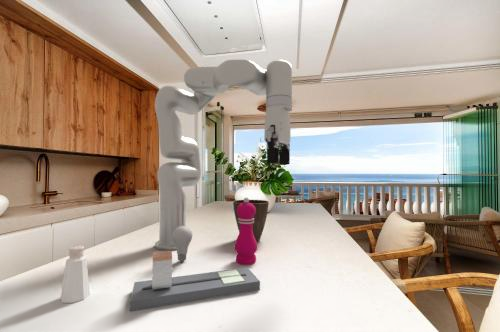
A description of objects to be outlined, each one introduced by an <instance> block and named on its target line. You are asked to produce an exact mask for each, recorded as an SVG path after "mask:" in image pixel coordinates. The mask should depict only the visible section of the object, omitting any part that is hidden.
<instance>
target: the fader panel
mask: <svg viewBox="0 0 500 332" xmlns="http://www.w3.org/2000/svg"><path fill="white" fill-rule="evenodd" d="M260 286H261V281H260V280H259V278H257V276H256V275H255V274H254V273H253V272H252V271H251V269H250V268H248V267H241V268H240V267H239V268H232V269H227V270H226V269H225V270H218V271H211V272H203V273H196V274H187V275H179V276H172V287H168V288H161V289H154V290H152V279H150V280H140V281H134V283H133V288H132V291H131V296H130V301H129V312H131V311H133V312H134V311H139V310H140V311H141V310H144V309H150V308H157V307H163V306H169V305H175V304H181V303H187V302H192V301H198V300H205V299H211V298H216V297H223V296H229V295H235V294H242V293H247V292H253V291H254V292H255V291H259V290H261V289H260V288H261V287H260Z"/></svg>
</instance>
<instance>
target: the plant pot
mask: <svg viewBox="0 0 500 332" xmlns="http://www.w3.org/2000/svg"><path fill="white" fill-rule="evenodd" d="M269 202H270V201H269V200H262V199H249V202H248V203H251V204H253V205H254V206H255V209H256V213H255V215H254V216H253V218H254V223H253V226H252V230H253V234H254V237H255V239H256V242H257V243H258V242H260V240H261V237H262V236H263V232H264V228H265V225H266V220H267V216H268V210H269V205H270V203H269ZM232 203H233V212H234V216H235V221H236V226H237V230H238V233H239V232H240V223H239V222H238V221H239V220H238V218H240V217H239V216H238V214H237V207H238V206H239V205H240V204H241V203H244V199H237V200H233V201H232Z"/></svg>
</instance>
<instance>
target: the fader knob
mask: <svg viewBox="0 0 500 332" xmlns="http://www.w3.org/2000/svg"><path fill="white" fill-rule="evenodd" d="M172 251H173V250H163V251H153V252H152V270H151V271H152V279H151V280H152V290H154V289H161V288H168V287H172V277H173V276H172V275H173V253H172Z"/></svg>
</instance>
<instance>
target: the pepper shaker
mask: <svg viewBox="0 0 500 332" xmlns="http://www.w3.org/2000/svg"><path fill="white" fill-rule="evenodd" d="M84 250H85V246H83V245H74V246H71V247H69V249H68V251H69V253H68V256H69V257H68V258H67V259H66V261H65V265H64V266H65V267H64V273H63V280H62V286H61V293H60V298H59V299H60V301H61V303H62V304H73V303H77V302H80V301H84V300H85V299H86V298H87V297H89V296H90V295H91V293H90V283H89V271H88V262H87V257H86V256H85V255H84V253H85V252H84Z"/></svg>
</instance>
